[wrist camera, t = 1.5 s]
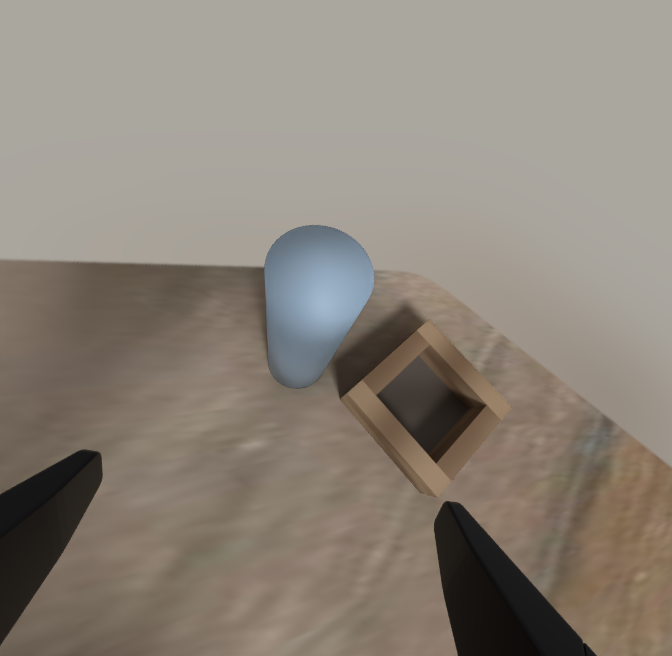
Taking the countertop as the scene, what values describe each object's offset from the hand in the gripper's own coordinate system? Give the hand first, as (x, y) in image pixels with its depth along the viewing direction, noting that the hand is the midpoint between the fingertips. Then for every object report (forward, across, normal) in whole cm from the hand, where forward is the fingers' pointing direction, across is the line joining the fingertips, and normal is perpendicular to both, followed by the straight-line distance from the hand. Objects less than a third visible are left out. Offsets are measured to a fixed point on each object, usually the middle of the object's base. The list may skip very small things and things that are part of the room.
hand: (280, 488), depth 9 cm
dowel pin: (+14, 0, +4) cm, 15 cm away
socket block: (+13, -9, +6) cm, 17 cm away
